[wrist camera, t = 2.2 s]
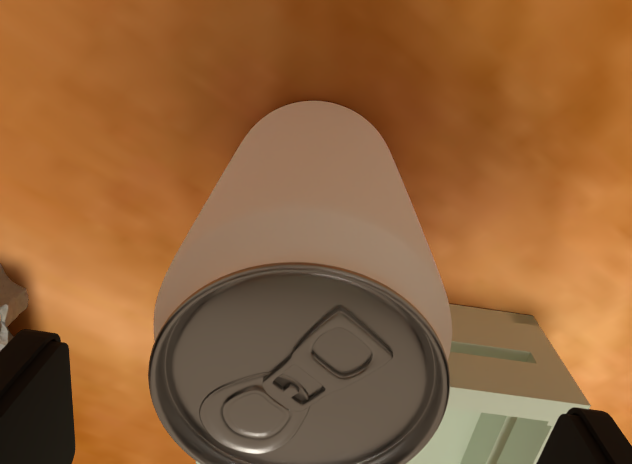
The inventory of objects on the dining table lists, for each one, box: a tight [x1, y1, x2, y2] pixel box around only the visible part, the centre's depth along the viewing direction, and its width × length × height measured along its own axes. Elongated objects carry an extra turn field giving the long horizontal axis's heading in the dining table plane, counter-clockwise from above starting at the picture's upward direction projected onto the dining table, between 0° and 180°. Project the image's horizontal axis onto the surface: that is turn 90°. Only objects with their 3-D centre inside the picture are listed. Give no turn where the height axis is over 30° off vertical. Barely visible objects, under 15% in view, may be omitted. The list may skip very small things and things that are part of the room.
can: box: [148, 101, 452, 464], centre depth 14 cm, size 6×6×12 cm
